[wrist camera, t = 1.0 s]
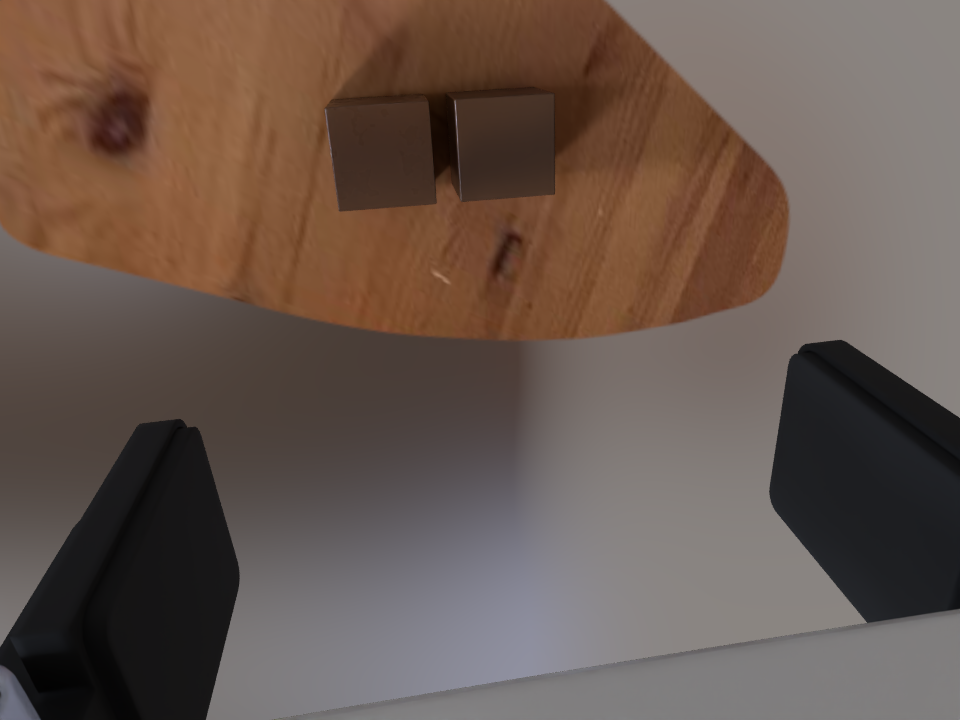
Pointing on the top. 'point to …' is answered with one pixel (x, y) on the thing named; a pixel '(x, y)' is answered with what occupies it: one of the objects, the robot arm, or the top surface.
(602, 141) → the top surface
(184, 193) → the top surface
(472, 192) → the walnut block
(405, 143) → the walnut block
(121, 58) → the top surface
